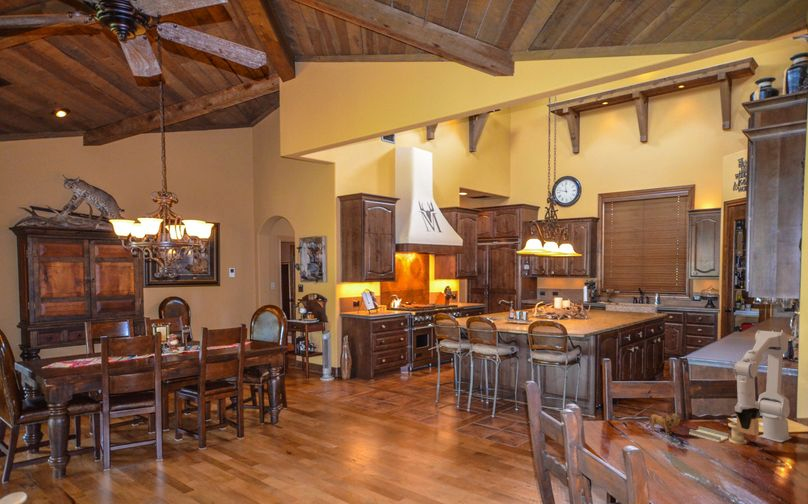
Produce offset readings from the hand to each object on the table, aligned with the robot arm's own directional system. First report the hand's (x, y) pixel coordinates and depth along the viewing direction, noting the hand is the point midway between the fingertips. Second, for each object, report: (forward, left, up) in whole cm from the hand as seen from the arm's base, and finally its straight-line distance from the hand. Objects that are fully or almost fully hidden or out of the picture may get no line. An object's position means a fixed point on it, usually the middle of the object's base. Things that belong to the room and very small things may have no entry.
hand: (747, 427), depth 190 cm
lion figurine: (+7, -30, -9) cm, 32 cm away
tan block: (0, 0, -2) cm, 2 cm away
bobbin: (-5, -6, -8) cm, 12 cm away
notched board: (-3, -16, -8) cm, 19 cm away
